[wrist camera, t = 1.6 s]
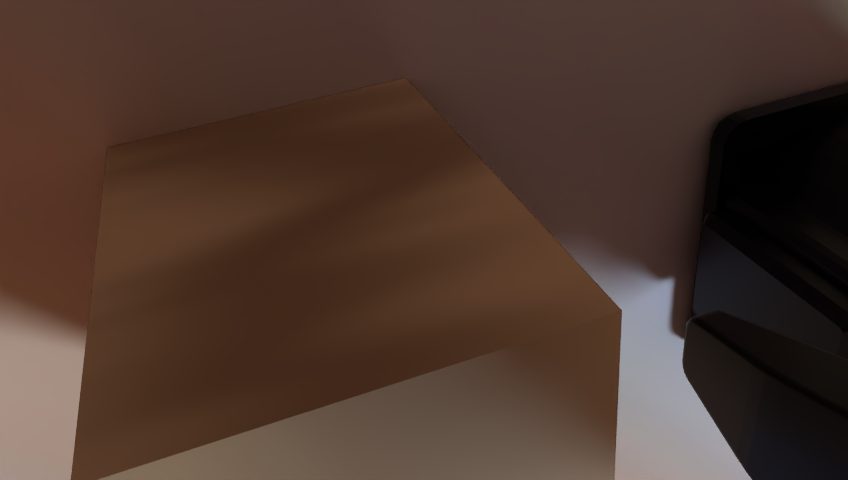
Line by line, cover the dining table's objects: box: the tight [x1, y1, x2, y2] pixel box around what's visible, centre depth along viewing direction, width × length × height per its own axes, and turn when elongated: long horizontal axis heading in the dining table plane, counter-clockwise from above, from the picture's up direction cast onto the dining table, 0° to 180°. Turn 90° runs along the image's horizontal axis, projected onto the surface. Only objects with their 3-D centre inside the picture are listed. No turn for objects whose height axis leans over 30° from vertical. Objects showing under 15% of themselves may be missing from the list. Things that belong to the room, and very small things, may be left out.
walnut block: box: [71, 78, 622, 480], centre depth 11 cm, size 5×5×7 cm
